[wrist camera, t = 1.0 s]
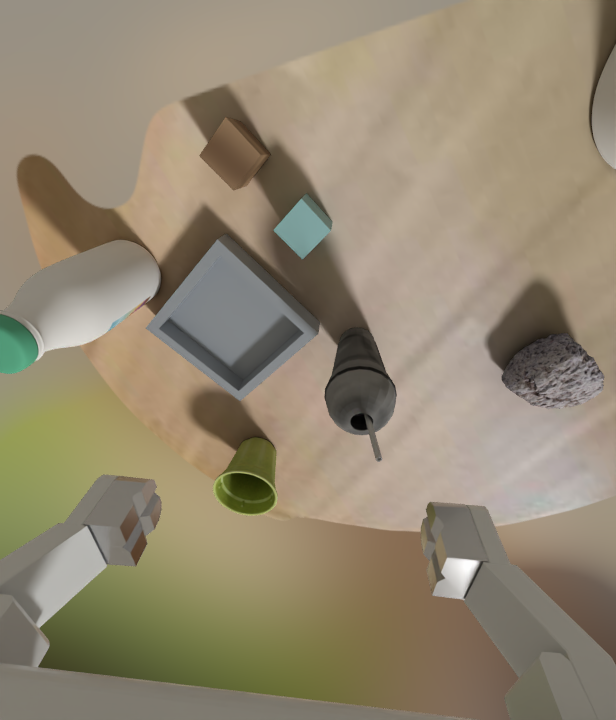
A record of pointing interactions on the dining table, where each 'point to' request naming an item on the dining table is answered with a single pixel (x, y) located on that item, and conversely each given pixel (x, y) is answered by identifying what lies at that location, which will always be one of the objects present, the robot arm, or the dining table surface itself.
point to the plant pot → (249, 479)
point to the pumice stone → (554, 373)
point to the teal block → (304, 226)
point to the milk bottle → (76, 301)
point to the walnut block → (234, 153)
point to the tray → (233, 320)
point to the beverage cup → (360, 387)
